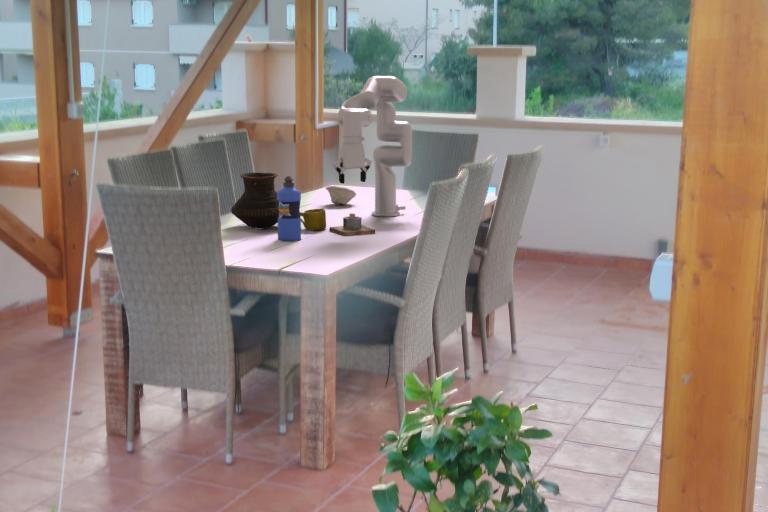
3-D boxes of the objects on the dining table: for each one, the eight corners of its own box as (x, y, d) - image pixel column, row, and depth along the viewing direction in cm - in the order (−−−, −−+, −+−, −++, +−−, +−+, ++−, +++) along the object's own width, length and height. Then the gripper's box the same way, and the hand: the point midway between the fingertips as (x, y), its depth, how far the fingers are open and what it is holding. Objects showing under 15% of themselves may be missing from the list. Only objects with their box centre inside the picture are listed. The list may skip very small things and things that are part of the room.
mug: (333, 223, 439) (326, 202, 435) (325, 234, 431) (317, 213, 427) (308, 226, 444) (300, 206, 440) (299, 238, 436) (291, 216, 432)
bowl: (362, 204, 506) (362, 183, 504) (345, 208, 494) (345, 187, 492) (336, 201, 514) (336, 181, 512) (320, 205, 502) (319, 184, 500)
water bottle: (291, 242, 406) (291, 178, 401) (272, 240, 411) (271, 176, 406) (305, 238, 414) (305, 176, 409) (287, 236, 418) (286, 174, 414)
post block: (359, 228, 439) (359, 210, 438) (375, 233, 427) (375, 215, 426) (329, 230, 432) (329, 212, 431) (344, 235, 420) (344, 217, 419)
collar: (356, 226, 434) (356, 215, 433) (363, 228, 428) (363, 218, 427) (341, 227, 431) (340, 217, 430) (348, 230, 425) (348, 219, 424)
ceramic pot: (219, 229, 435) (218, 175, 431) (254, 220, 456) (253, 169, 452) (267, 234, 424) (266, 179, 419) (301, 225, 445) (300, 173, 440)
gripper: (366, 138, 431) (366, 180, 434) (329, 140, 423) (329, 182, 426) (375, 140, 425) (375, 182, 428) (337, 142, 416) (337, 184, 420)
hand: (352, 182), depth 427 cm, fingers open, 9 cm apart
